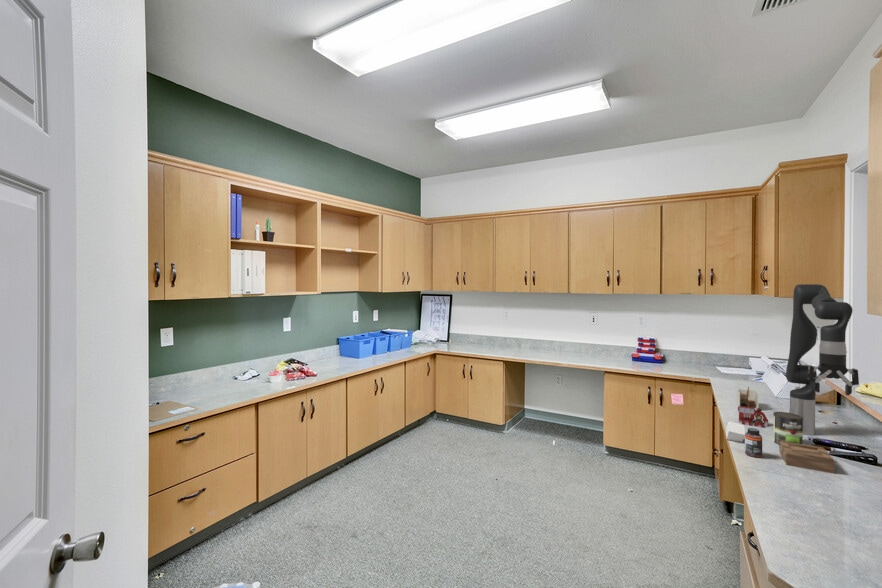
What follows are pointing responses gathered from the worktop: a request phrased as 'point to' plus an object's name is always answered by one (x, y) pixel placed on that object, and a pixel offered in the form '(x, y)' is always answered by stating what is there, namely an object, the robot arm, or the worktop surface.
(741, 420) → the toy fire truck
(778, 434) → the coffee can
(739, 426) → the white cube
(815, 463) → the walnut block
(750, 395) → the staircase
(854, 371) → the robot arm
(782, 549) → the worktop surface
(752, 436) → the supplement bottle
